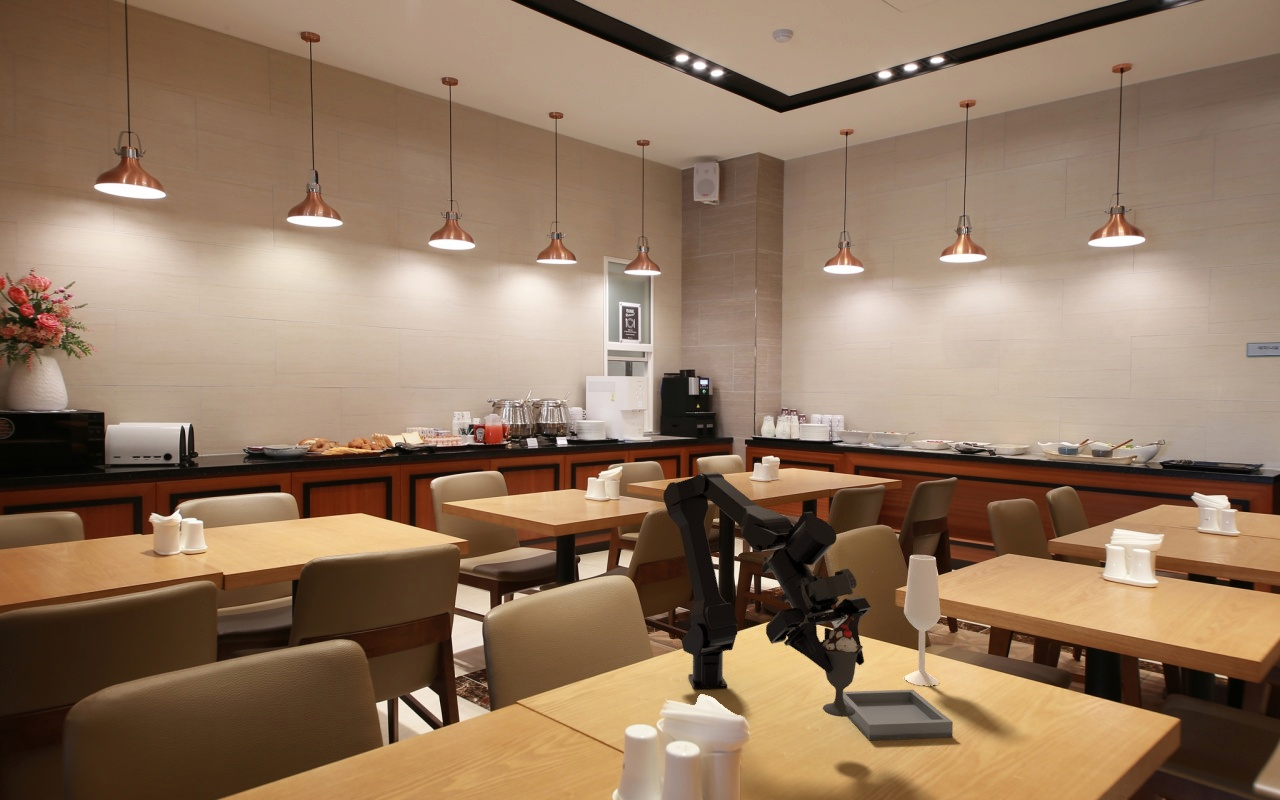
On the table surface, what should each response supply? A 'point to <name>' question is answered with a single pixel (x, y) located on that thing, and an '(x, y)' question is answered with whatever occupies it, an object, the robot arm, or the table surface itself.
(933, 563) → the champagne flute
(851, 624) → the robot arm
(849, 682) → the sundae
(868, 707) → the tray
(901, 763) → the table surface
